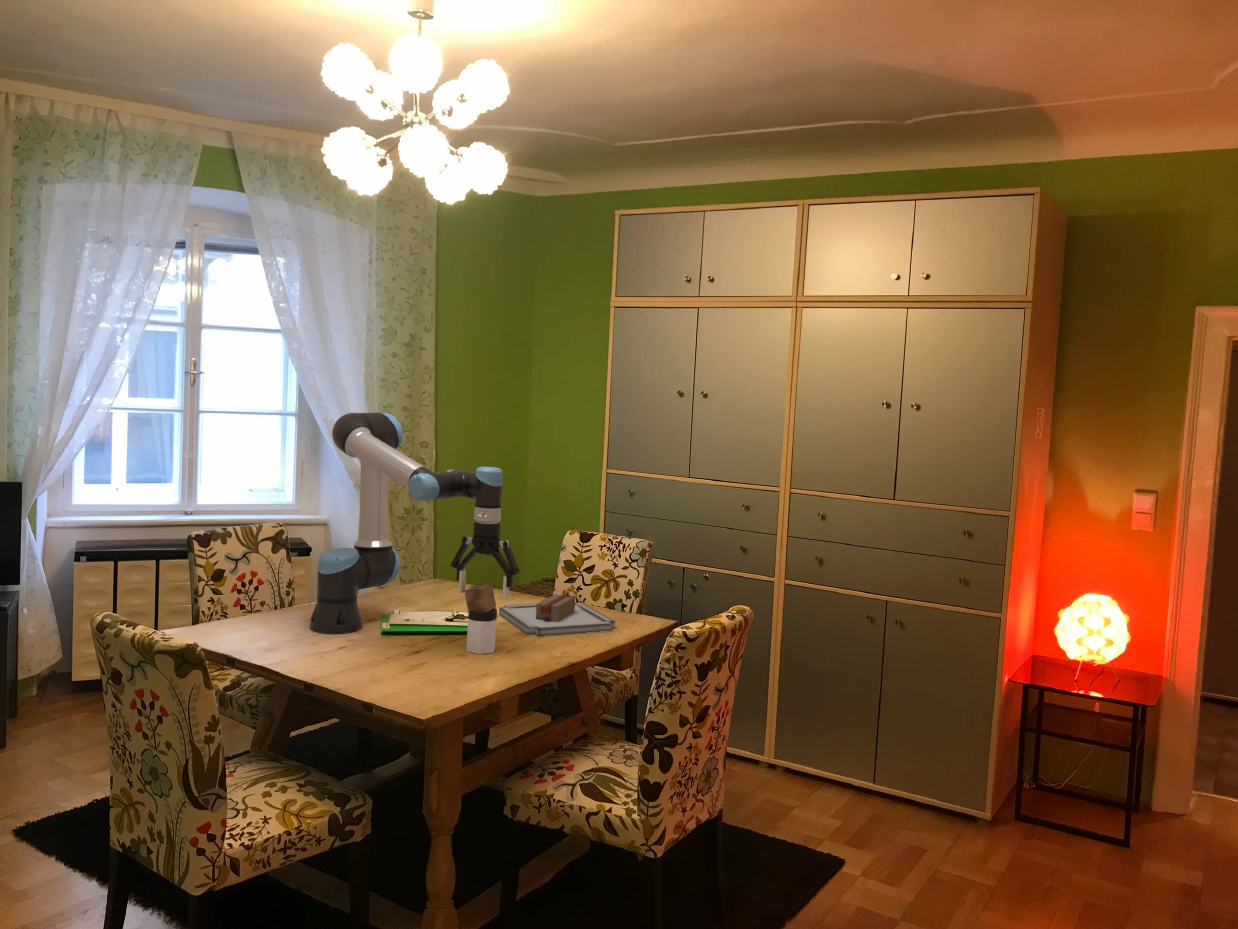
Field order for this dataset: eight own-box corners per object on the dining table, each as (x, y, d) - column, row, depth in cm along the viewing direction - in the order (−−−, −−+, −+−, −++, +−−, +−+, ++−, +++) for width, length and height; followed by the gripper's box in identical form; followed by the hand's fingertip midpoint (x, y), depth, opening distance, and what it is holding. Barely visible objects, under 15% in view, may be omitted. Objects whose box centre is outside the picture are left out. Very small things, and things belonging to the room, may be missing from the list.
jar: (472, 655, 277) (474, 613, 276) (460, 648, 283) (462, 607, 282) (501, 652, 282) (503, 611, 281) (488, 644, 288) (490, 604, 287)
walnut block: (468, 614, 280) (464, 590, 279) (477, 609, 285) (473, 585, 285) (487, 612, 278) (483, 587, 277) (496, 606, 284) (491, 583, 283)
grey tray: (618, 632, 313) (619, 609, 313) (530, 639, 300) (531, 614, 299) (578, 610, 340) (580, 588, 339) (496, 614, 326) (497, 592, 325)
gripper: (441, 518, 279) (437, 592, 281) (523, 528, 272) (519, 603, 274) (453, 515, 286) (449, 587, 288) (533, 524, 279) (529, 597, 281)
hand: (483, 595), depth 281 cm, fingers open, 13 cm apart
